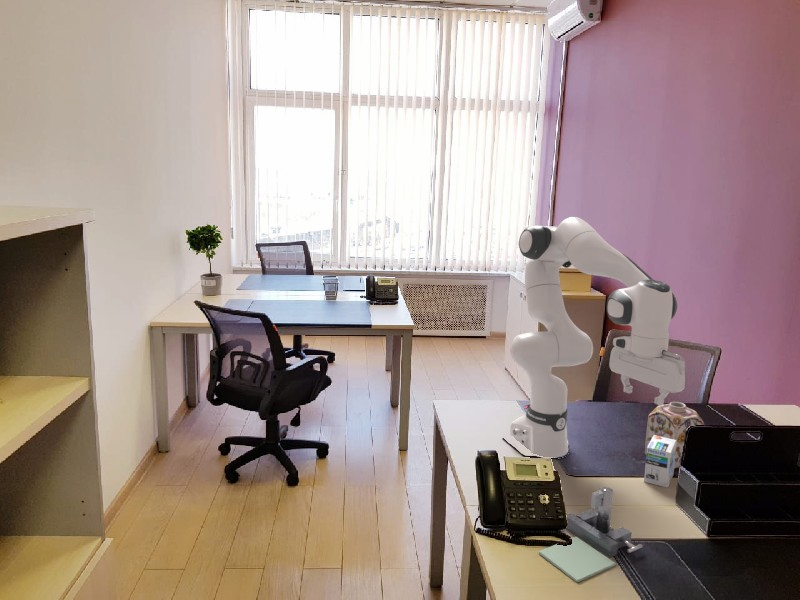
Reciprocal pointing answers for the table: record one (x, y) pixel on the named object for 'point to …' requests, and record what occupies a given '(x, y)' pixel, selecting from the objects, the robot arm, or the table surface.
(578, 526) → the vise
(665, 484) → the light bulb box
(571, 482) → the table surface
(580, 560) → the mat
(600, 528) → the grey tall rounded piece
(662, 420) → the decorative jar
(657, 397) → the robot arm
